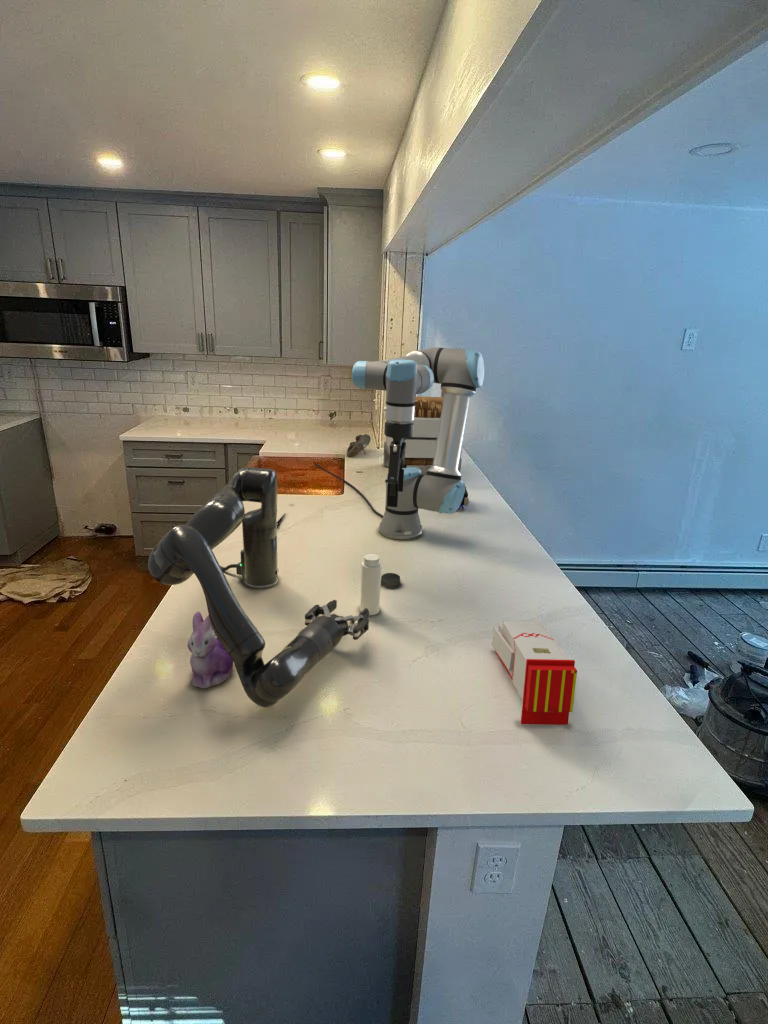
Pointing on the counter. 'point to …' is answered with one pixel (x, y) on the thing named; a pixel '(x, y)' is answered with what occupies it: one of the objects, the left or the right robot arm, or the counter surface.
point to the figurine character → (464, 499)
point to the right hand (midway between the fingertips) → (395, 498)
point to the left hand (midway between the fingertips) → (351, 607)
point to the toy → (537, 671)
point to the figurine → (207, 655)
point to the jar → (370, 584)
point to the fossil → (358, 445)
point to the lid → (390, 580)
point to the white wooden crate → (421, 433)
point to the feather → (280, 520)
